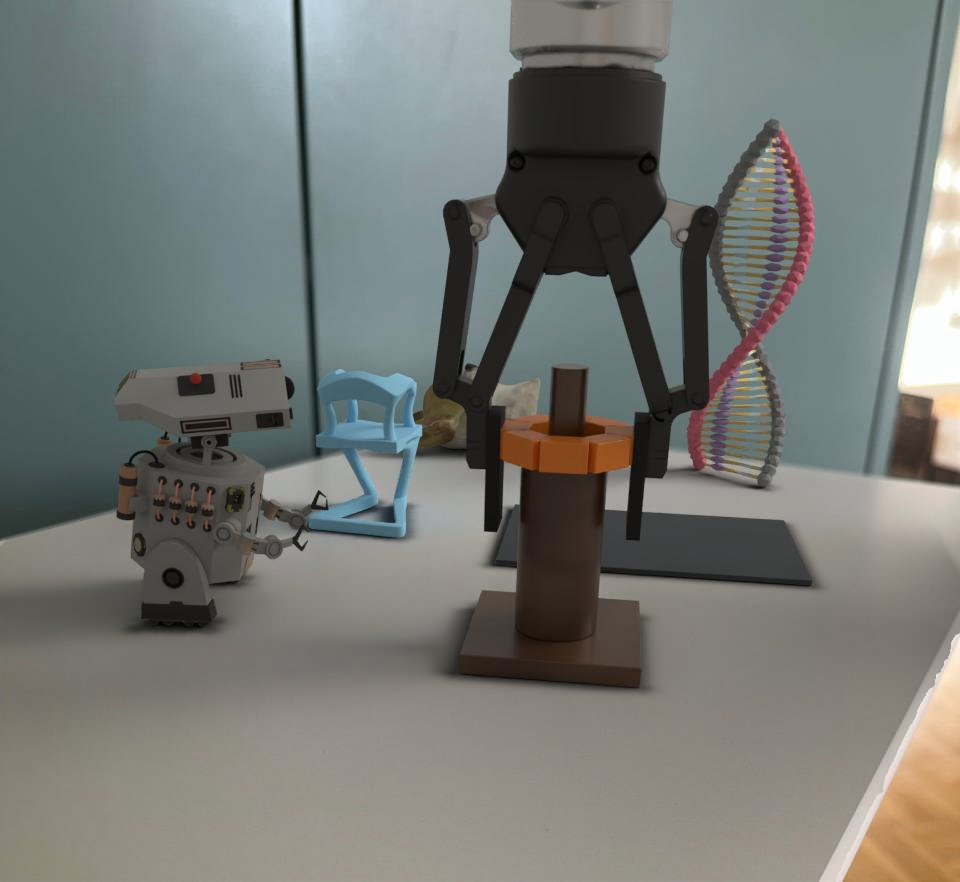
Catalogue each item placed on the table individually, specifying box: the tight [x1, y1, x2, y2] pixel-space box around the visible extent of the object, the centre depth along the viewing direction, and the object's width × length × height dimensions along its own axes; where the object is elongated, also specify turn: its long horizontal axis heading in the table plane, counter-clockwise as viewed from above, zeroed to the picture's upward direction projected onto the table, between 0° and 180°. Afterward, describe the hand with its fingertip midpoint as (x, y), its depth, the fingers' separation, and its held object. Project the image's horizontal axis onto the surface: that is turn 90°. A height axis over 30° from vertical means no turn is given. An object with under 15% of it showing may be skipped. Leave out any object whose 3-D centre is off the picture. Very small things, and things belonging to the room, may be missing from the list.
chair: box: [308, 368, 422, 539], centre depth 81 cm, size 8×8×12 cm
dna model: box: [686, 118, 816, 488], centre depth 91 cm, size 9×9×30 cm
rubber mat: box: [495, 503, 813, 586], centre depth 79 cm, size 22×14×1 cm, turn 83°
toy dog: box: [412, 362, 542, 450], centre depth 104 cm, size 11×9×15 cm
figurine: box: [114, 358, 329, 628], centre depth 63 cm, size 9×12×15 cm
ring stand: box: [458, 362, 643, 688], centre depth 58 cm, size 10×10×16 cm
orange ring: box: [499, 413, 634, 475], centre depth 57 cm, size 7×7×2 cm
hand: (562, 528), depth 59 cm, fingers closed on orange ring, 7 cm apart
